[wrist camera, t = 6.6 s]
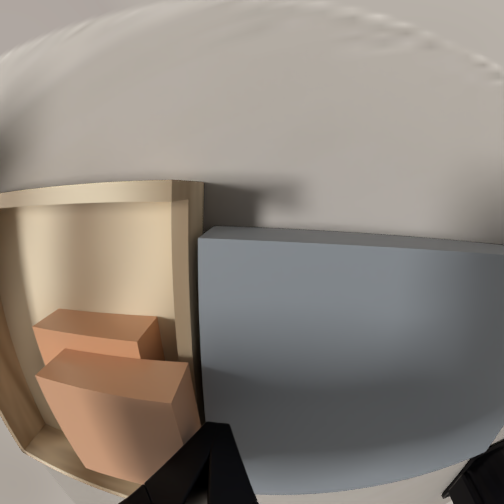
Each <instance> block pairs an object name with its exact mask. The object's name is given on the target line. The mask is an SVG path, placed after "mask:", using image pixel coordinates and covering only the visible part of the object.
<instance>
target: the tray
mask: <svg viewBox="0 0 504 504" xmlns="http://www.w3.org/2000/svg"><path fill="white" fill-rule="evenodd" d="M203 198H204V182H196V181H182V180H145V181H121V182H103V183H88V184H76V185H64V186H54V187H44V188H35V189H27V190H19V191H11V192H4V193H0V416H1V418H2V420H3V421H4V423H5V425H6V427H7V428H8V430H9V432H10V433H11V435H12V437H13V438H14V440H15V441H16V443H17V444H18V446H19V448H20V449H21V450H22V452H23V453H25V454H27V455H29V456H30V457H32V458H34V459H35V460H37V461H39V462H41V463H43V464H45V465H47V466H49V467H50V468H52V469H54V470H56V471H58V472H61V473H63V474H65V475H67V476H69V477H71V478H73V479H76V480H78V481H80V482H83V483H85V484H87V485H90V486H92V487H95V488H98V489H100V490H103V491H106V492H108V493H111V494H114V495H117V496H120V497H123V498H127V497H128V496H129V495H131V494H132V493H133V492H134V491H135V490H137V489H138V488H139V487H140V486H141V485H142V484H138V483H134V482H130V481H127V480H123V479H119V478H116V477H112V476H109V475H106V474H102V473H99V472H96V471H93V470H90V469H87V468H86V467H85V466H84V464H83V463H82V461H81V460H80V458H79V457H78V455H77V454H76V452H75V451H74V449H73V447H72V446H71V444H70V443H69V441H68V439H67V438H66V436H65V434H64V432H63V431H62V429H61V427H60V425H59V424H58V422H57V420H56V418H55V416H54V414H53V412H52V410H51V409H50V407H49V405H48V403H47V400H46V398H45V396H44V394H43V392H42V390H41V388H40V386H39V383H38V381H37V379H36V376H35V375H36V374H37V373H38V372H39V371H40V370H41V369H42V368H43V367H45V363H44V361H43V358H42V355H41V352H40V349H39V346H38V343H37V340H36V337H35V334H34V331H33V328H32V326H34V325H35V324H37V323H38V322H39V321H41V320H42V319H44V318H45V317H47V316H48V315H50V314H51V313H53V312H54V311H56V310H57V309H59V308H60V309H69V310H78V311H89V312H100V313H112V314H126V315H142V316H157V318H158V324H159V330H160V335H161V341H162V347H163V352H164V357H165V361H171V362H188V363H189V368H190V373H191V379H192V384H193V389H194V394H195V399H196V404H197V409H198V413H199V418H200V423H201V427H202V426H203V425H204V423H205V422H206V420H205V408H204V395H203V381H202V365H201V347H200V324H199V292H198V238H199V237H200V236H201V235H203Z"/></svg>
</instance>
